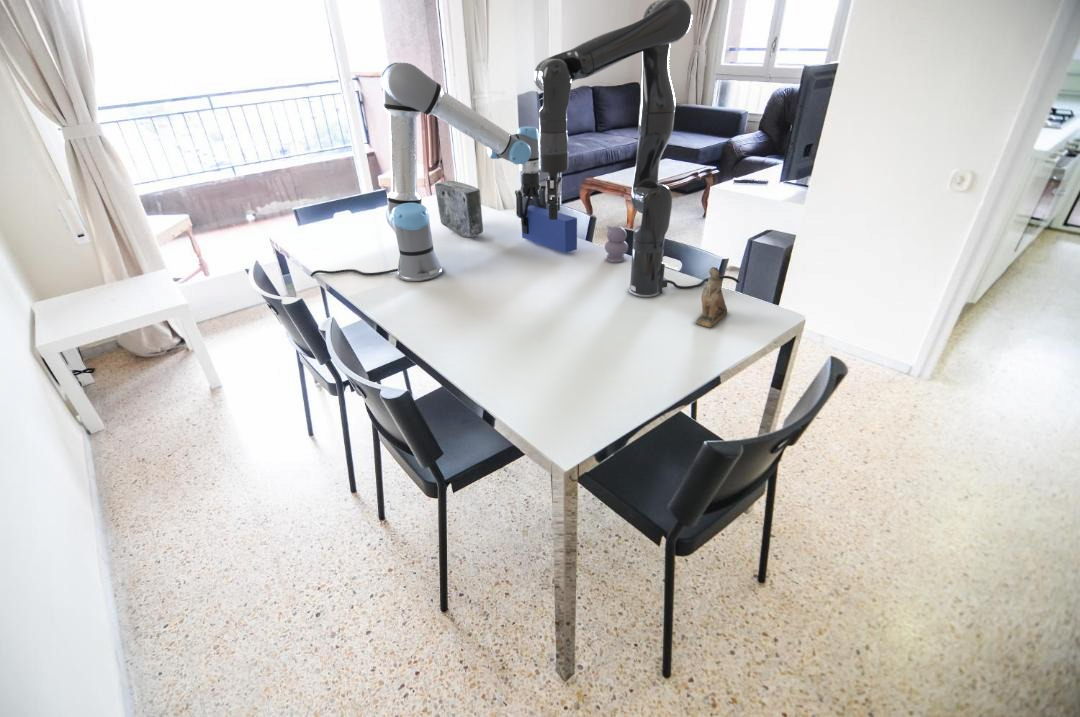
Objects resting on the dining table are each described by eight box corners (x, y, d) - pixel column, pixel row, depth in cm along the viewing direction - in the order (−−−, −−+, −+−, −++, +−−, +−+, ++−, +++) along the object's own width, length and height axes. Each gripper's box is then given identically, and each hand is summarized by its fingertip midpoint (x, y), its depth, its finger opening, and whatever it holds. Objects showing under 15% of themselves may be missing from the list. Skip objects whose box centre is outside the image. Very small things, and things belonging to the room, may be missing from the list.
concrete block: (488, 238, 207) (483, 189, 196) (469, 243, 203) (464, 193, 192) (458, 224, 226) (452, 179, 215) (440, 228, 221) (434, 182, 211)
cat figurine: (631, 259, 181) (633, 226, 175) (619, 265, 176) (620, 231, 170) (612, 254, 186) (614, 222, 180) (599, 259, 181) (600, 227, 175)
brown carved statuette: (709, 335, 136) (713, 280, 124) (691, 329, 139) (693, 274, 128) (730, 313, 142) (736, 258, 130) (712, 307, 145) (716, 253, 133)
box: (522, 237, 203) (520, 208, 197) (533, 234, 206) (532, 205, 200) (565, 253, 185) (565, 221, 179) (576, 249, 188) (577, 217, 182)
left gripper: (515, 176, 181) (519, 238, 193) (554, 169, 191) (555, 228, 203) (503, 174, 186) (508, 234, 198) (542, 166, 196) (544, 224, 208)
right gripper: (566, 155, 119) (567, 222, 128) (569, 146, 131) (570, 207, 140) (535, 156, 120) (538, 222, 129) (541, 146, 132) (543, 208, 141)
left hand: (532, 231), depth 201 cm, fingers closed on box, 6 cm apart
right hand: (554, 214), depth 134 cm, fingers open, 8 cm apart
